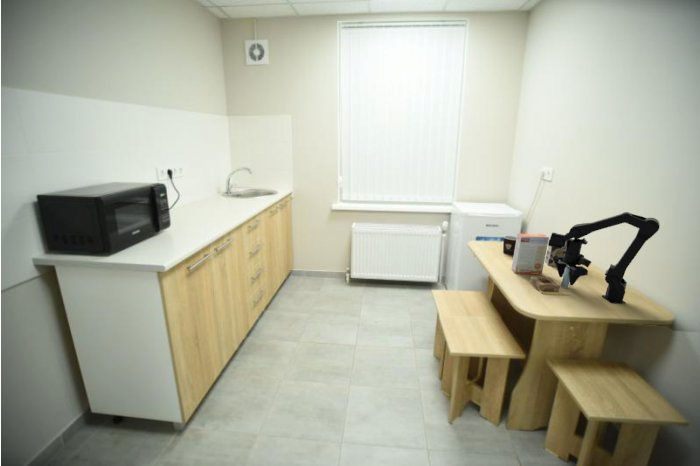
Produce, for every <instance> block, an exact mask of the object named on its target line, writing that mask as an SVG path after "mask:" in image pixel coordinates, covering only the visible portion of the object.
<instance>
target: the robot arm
mask: <svg viewBox="0 0 700 466" xmlns="http://www.w3.org/2000/svg"><path fill="white" fill-rule="evenodd" d="M621 224H628V225H630V226H632V227H633V228H637V229H638V230H637V233H636V235H635V237H634V239H633V240H632V242H631V243H630V244H629V245H628V247H627V248H626V250H625V252H624V253H623V254H622V256H621V257H620V259H619V260H618V261H617V263H616V264H612V263H611V264H609V265H610V266H609V268H608V269H607V270H605V272H604V276H605V277H604V280H605V283H606V284H608V285H607V288H606V291H605V295H604V294H603V295H601V297H602V298H603V299H605V300H607V301H608V302H609V303H611V304H627V302H626V301H625V300H624V297H625V295H626V289H627V283H628V282H627V281H626V279H624V276H625V273H626V271H627V269H628V267H629V266H630V265H631V263H632V262H633V260H634V259H635V257H636V256H637V254H638V253H639V252H640V250H641V249H642V248H643V246H644V245H645V243H646V242H647V241H648V240H649V239H651V238H653V236H654V235H655V234H656V233H657V232H658V231H659V230H660V225H661V224H660V222H659V220H658V219H657V218H655V217H644V216H642V215H637V214H634V213H630V212H628V211H625V212H622V213H619V214H616V215H613V216H609V217H607V218H603V219H599V220H596V221H593V222H583V223H577V224H574V225H573V226H572V227H570V229H569V231H568V232H566V233H565V234H561V233H557V232H552V233H551V235H550V237H549V240H548V245H547V247H548V246H551V247H556V248H561V249H562V248H563V247H565V246H566V242H567V241H568V243H567V247H566V251H563V253H564V254H565V255H555V256H554V258H553V260H554V261H555V262H554V263H555V265H556V266H555V268H556V271H557V272H558V276H559V278H563V275H564V271H565V267H570V272H569V280H570V282H569V286H574V284H575V283H576V282H577V280H578V279H579V278H581V277H583V276H588V274H589V270H588V269H587V268H589V267H590V266H591V263H592V261H591V260H589V259H587V258H586V257H585V255H584V254H583V253H581V251H582V248H583V247H582V245H585V246H586V245H587V244H588V243H589V241H587V239H586V238H585V237H586V236H588V235H590V234H591V233H594V232H597V231H600V230H604V229H608V228H610V227H614V226H617V225H621Z"/></svg>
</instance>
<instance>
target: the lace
mask: <svg viewBox="0 0 700 466" xmlns="http://www.w3.org/2000/svg"><path fill="white" fill-rule="evenodd" d="M538 292H539V293H540V294H541V295H561V296H562V295H564V296H569V295H570V293H569V292H559V291H558V292H542V291H541V290H539V291H538Z"/></svg>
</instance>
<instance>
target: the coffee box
mask: <svg viewBox="0 0 700 466" xmlns="http://www.w3.org/2000/svg"><path fill="white" fill-rule="evenodd" d="M567 243H568V241H567V242H566V246H565V247H563V248H562V249H561V248H556V247H551V246H548V245H547V250H546V255H545V261H544V263H545V264H546V265H547V266H550V267H556V265H555V263H554V262H555V261H554V260H553V258H554V256H555V255H565V254H564V253H563V251H566V247H567Z"/></svg>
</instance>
